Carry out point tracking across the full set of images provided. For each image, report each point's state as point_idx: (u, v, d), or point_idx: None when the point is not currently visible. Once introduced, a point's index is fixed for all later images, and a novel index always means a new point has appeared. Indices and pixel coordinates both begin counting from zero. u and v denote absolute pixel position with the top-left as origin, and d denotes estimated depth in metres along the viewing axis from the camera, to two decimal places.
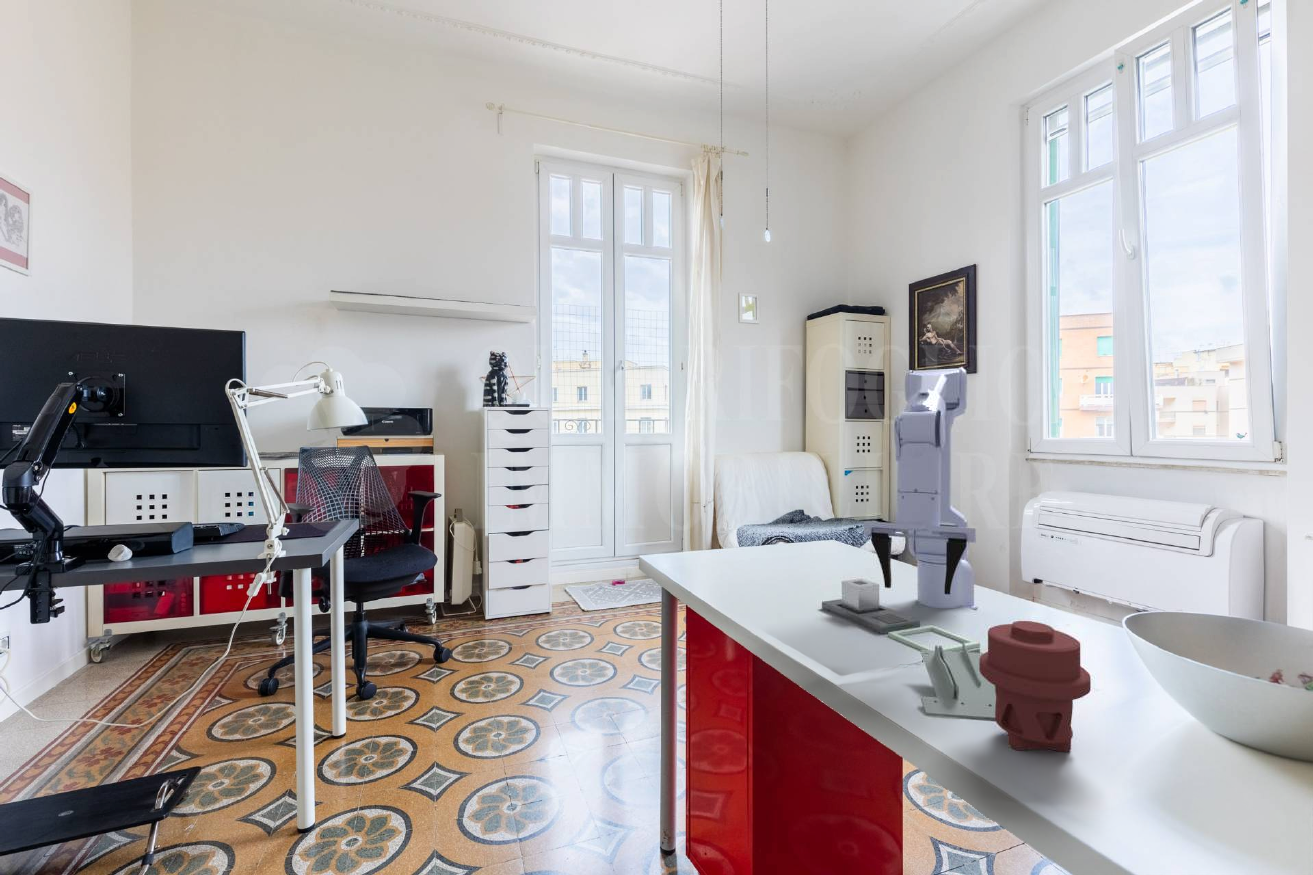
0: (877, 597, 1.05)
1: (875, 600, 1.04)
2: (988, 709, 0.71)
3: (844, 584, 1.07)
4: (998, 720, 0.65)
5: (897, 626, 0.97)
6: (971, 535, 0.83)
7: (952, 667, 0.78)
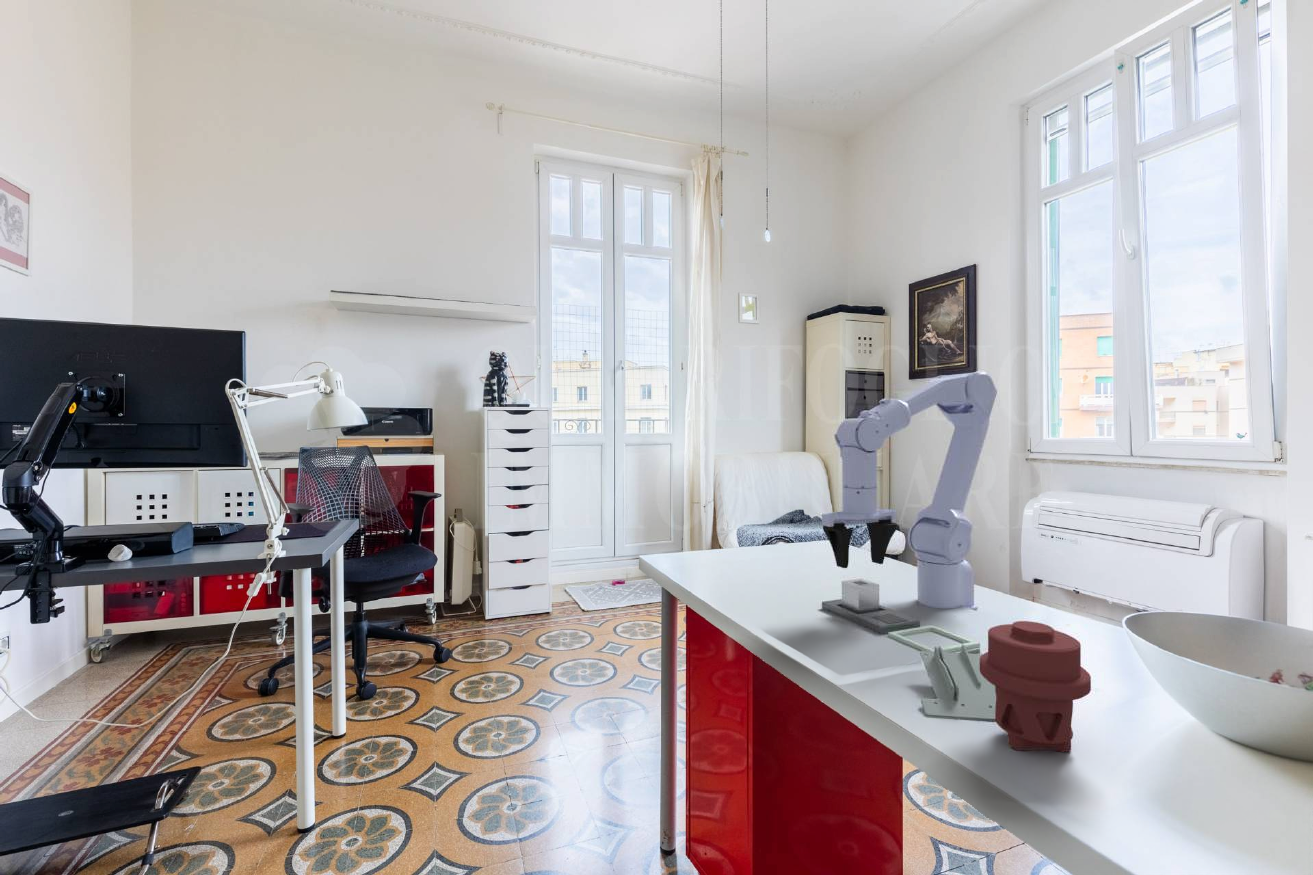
0: (877, 597, 1.05)
1: (875, 600, 1.04)
2: (988, 710, 0.70)
3: (844, 584, 1.07)
4: (998, 720, 0.65)
5: (897, 626, 0.97)
6: (894, 516, 1.07)
7: (952, 668, 0.78)
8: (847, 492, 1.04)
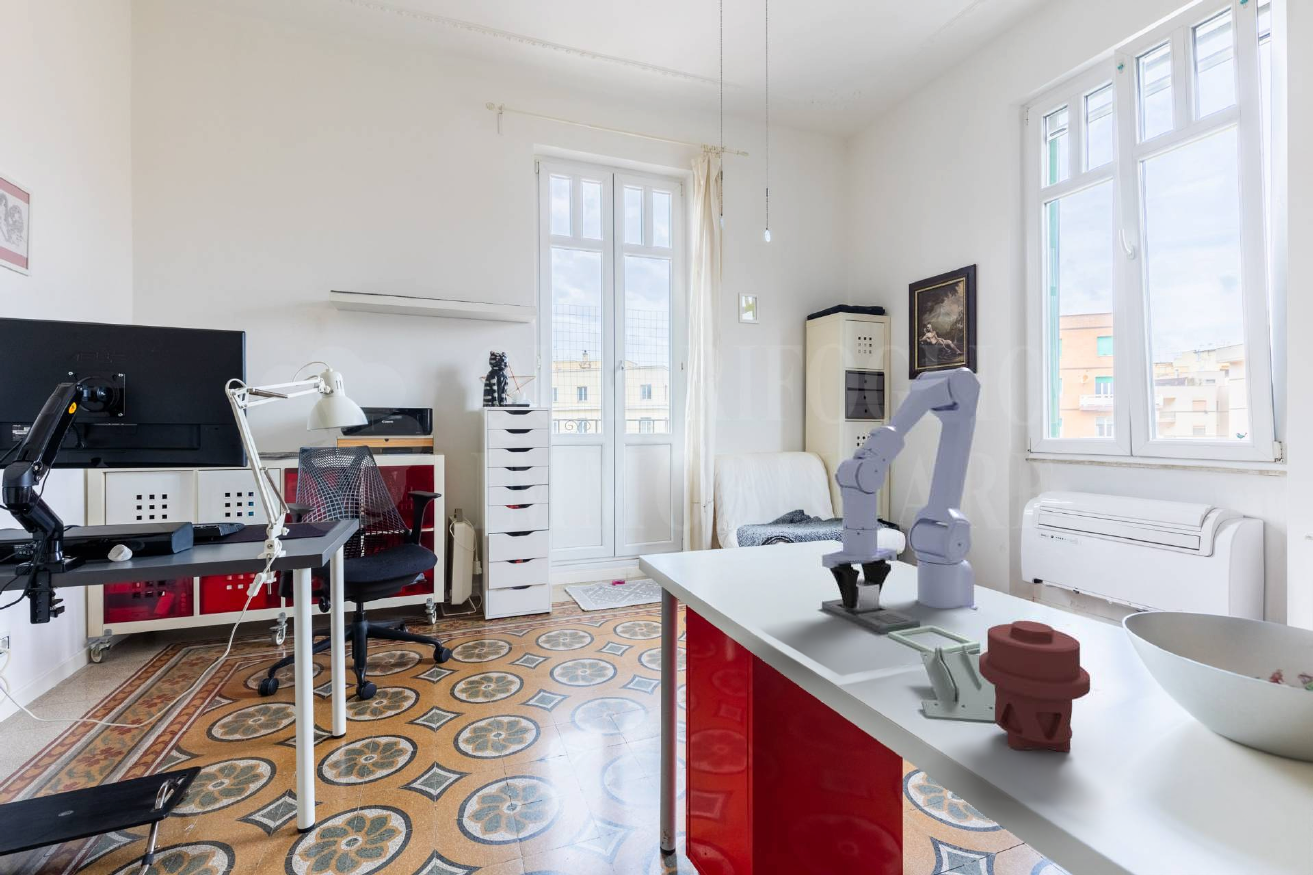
0: (877, 597, 1.05)
1: (875, 600, 1.04)
2: (989, 712, 0.70)
3: None
4: (998, 720, 0.65)
5: (897, 626, 0.97)
6: (894, 555, 1.07)
7: (952, 669, 0.78)
8: (847, 533, 1.05)
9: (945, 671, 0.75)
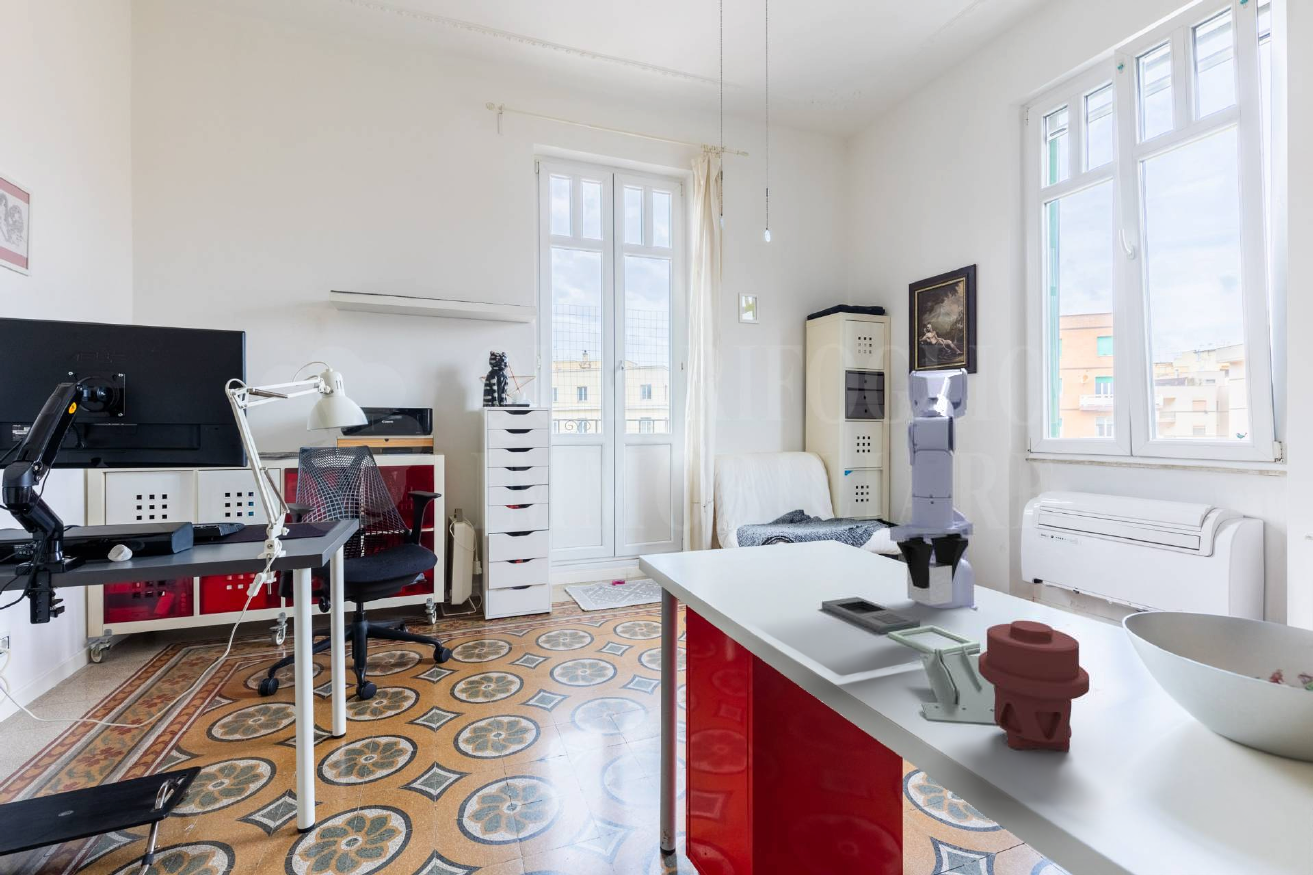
0: (949, 580, 0.92)
1: (947, 584, 0.91)
2: (990, 714, 0.70)
3: None
4: (997, 719, 0.65)
5: (897, 626, 0.97)
6: (970, 529, 0.94)
7: (952, 671, 0.77)
8: (919, 502, 0.91)
9: (945, 673, 0.75)
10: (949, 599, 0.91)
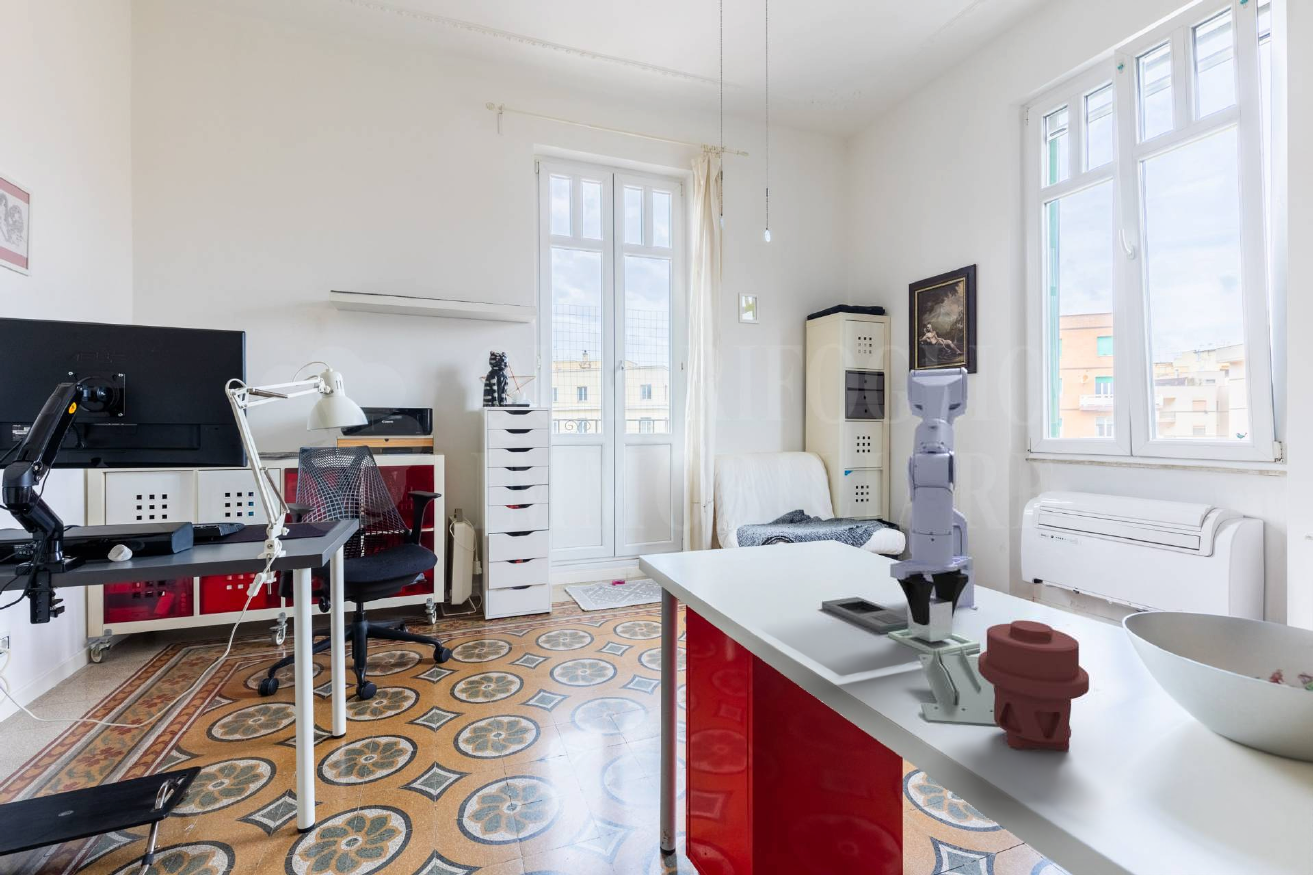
0: (950, 616, 0.92)
1: (948, 620, 0.91)
2: (990, 715, 0.69)
3: None
4: (997, 719, 0.65)
5: (897, 626, 0.97)
6: (970, 564, 0.94)
7: (951, 672, 0.77)
8: (919, 539, 0.91)
9: (944, 674, 0.74)
10: (949, 635, 0.92)
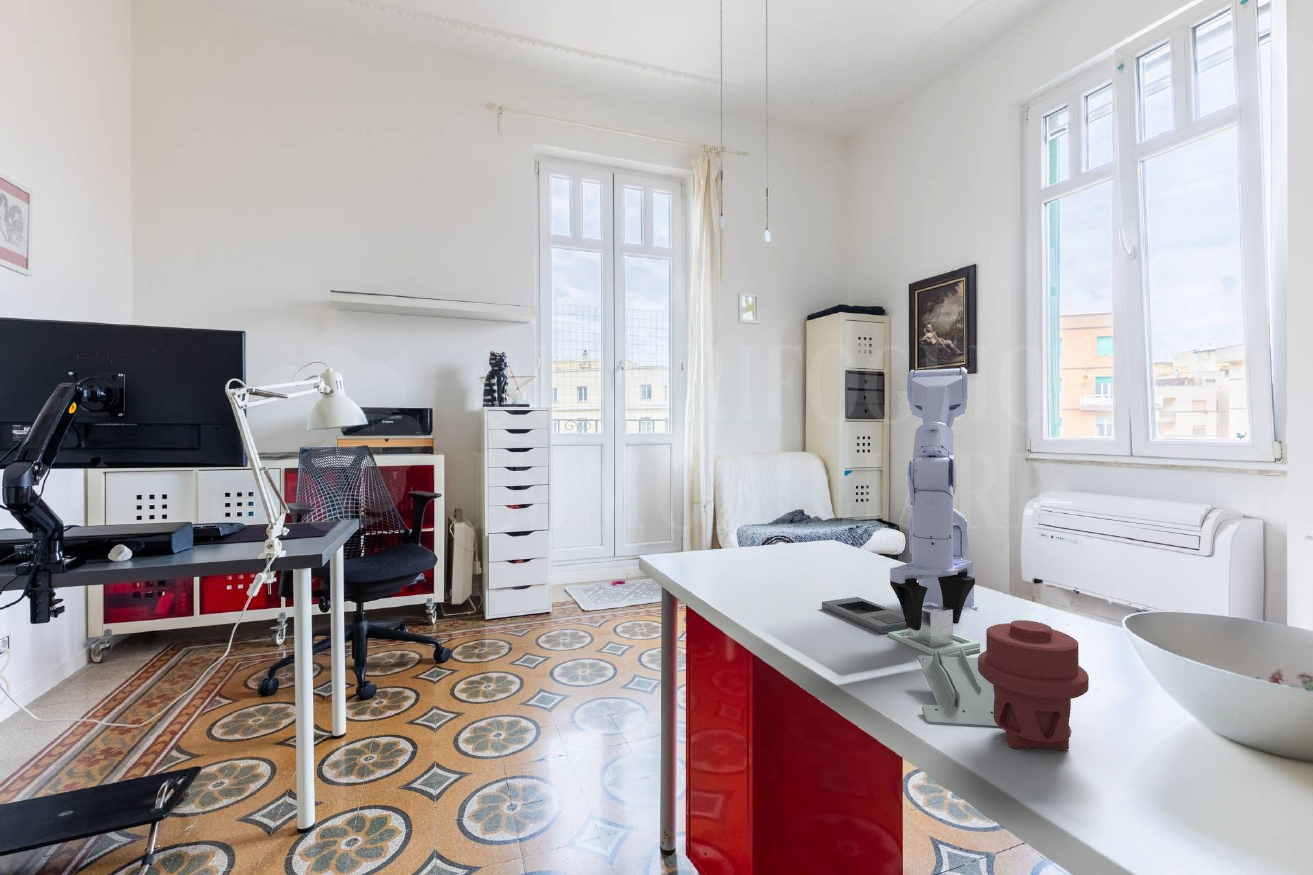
0: (950, 624, 0.92)
1: (948, 628, 0.91)
2: (990, 717, 0.69)
3: None
4: (996, 719, 0.65)
5: (897, 626, 0.97)
6: (970, 568, 0.94)
7: (951, 673, 0.76)
8: (919, 542, 0.91)
9: (944, 675, 0.74)
10: None
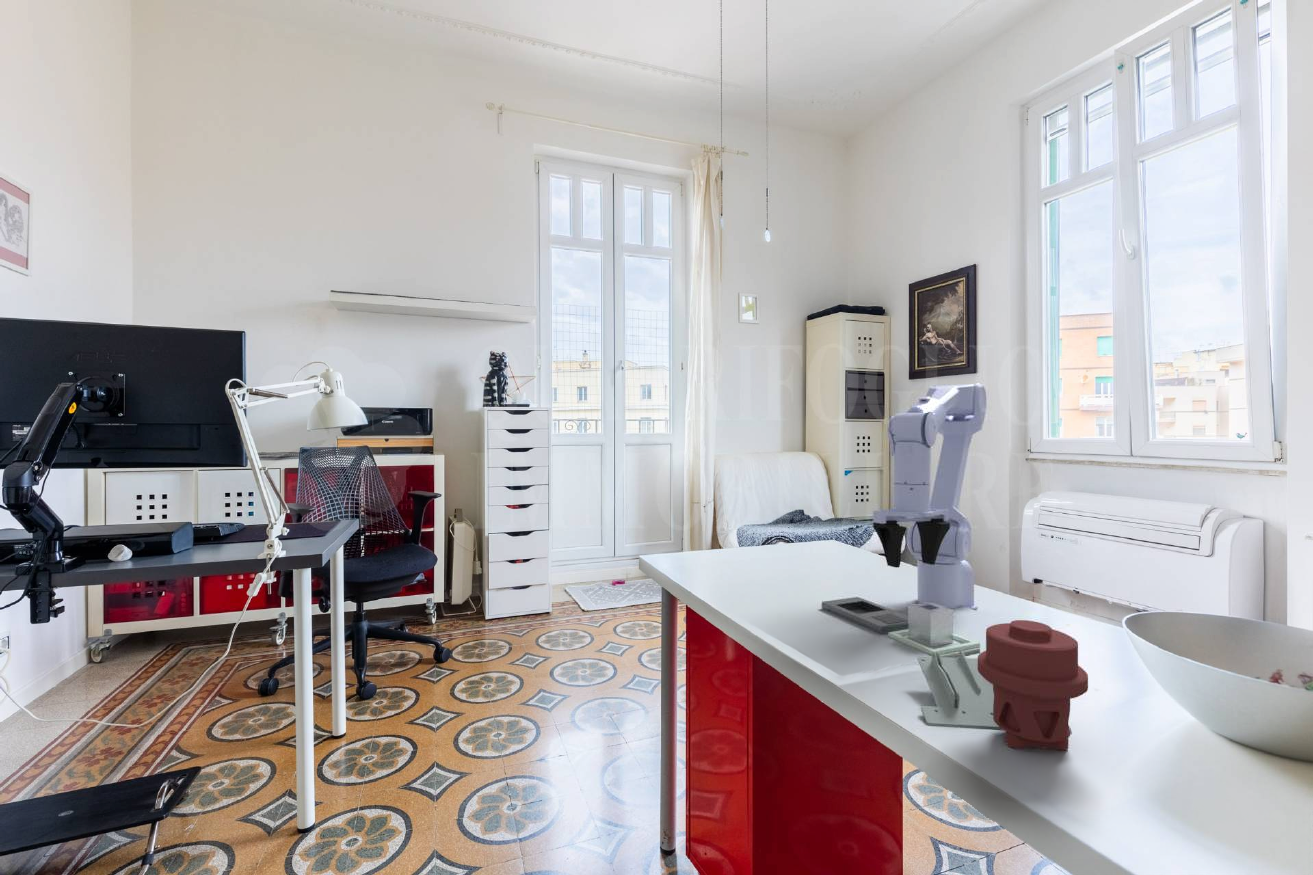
0: (950, 624, 0.92)
1: (948, 628, 0.91)
2: (990, 718, 0.69)
3: (911, 609, 0.93)
4: (996, 719, 0.65)
5: (897, 626, 0.97)
6: (946, 515, 1.04)
7: (950, 674, 0.76)
8: (899, 488, 1.01)
9: (944, 676, 0.74)
10: None
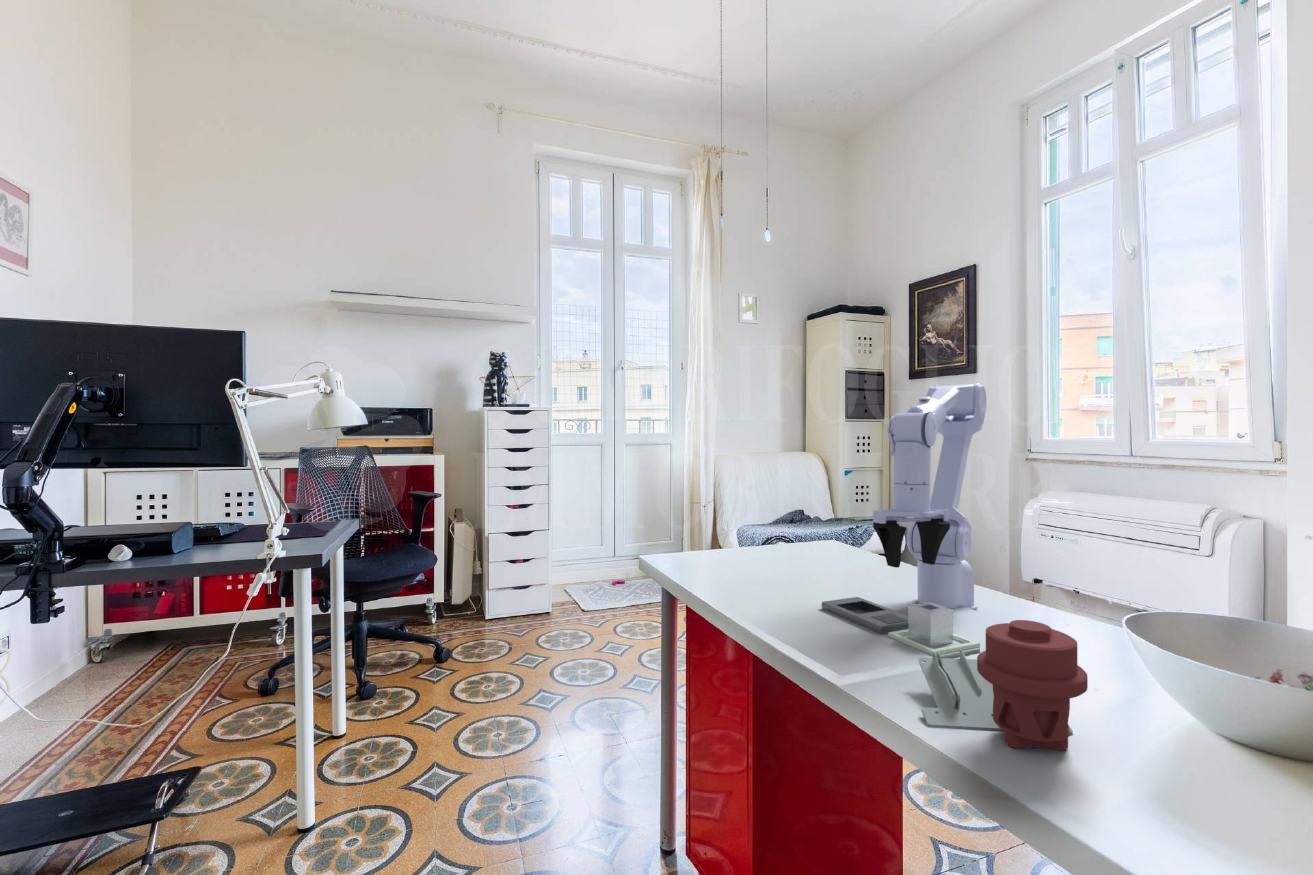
0: (950, 624, 0.92)
1: (948, 628, 0.91)
2: (991, 719, 0.68)
3: (911, 609, 0.93)
4: (995, 719, 0.65)
5: (897, 626, 0.97)
6: (946, 515, 1.04)
7: (951, 675, 0.76)
8: (899, 488, 1.01)
9: (944, 677, 0.73)
10: None
